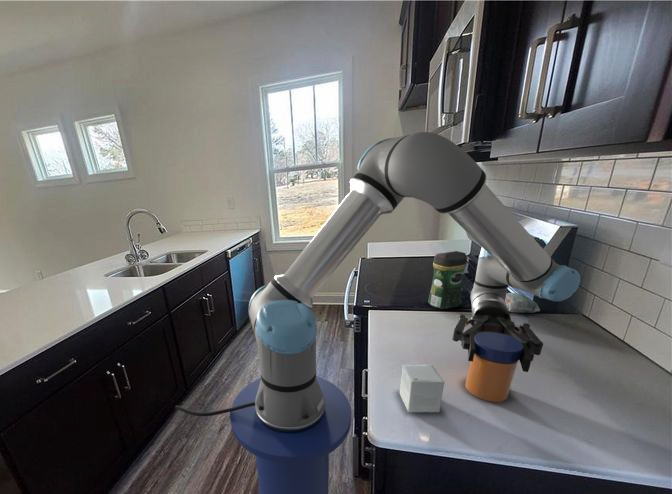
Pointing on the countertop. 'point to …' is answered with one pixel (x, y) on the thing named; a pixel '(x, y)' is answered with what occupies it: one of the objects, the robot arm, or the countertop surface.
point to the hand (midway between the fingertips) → (498, 360)
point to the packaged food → (520, 303)
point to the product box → (421, 388)
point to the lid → (498, 347)
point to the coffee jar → (447, 279)
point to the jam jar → (490, 379)
